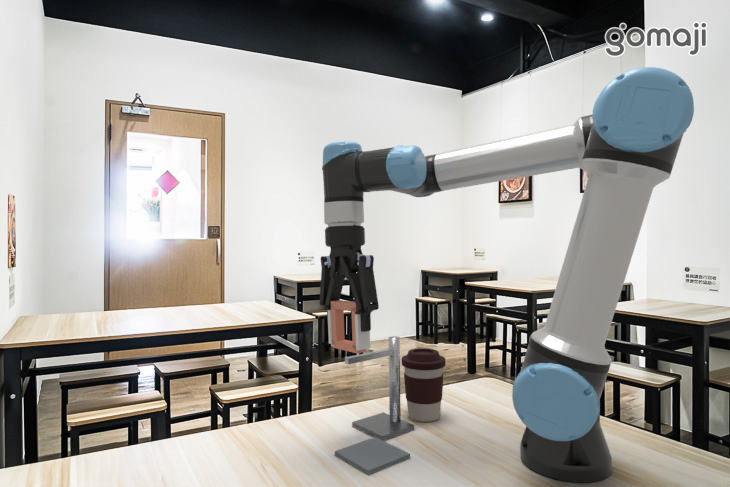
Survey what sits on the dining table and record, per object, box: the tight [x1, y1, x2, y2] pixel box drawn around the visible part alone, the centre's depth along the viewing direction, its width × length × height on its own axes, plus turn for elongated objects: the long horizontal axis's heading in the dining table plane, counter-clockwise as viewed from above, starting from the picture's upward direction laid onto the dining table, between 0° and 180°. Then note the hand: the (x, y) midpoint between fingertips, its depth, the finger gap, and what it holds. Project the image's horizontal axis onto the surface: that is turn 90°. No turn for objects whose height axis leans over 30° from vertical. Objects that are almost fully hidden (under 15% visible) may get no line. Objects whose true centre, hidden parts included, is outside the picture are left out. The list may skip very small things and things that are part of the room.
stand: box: [344, 335, 415, 442], centre depth 101 cm, size 10×14×19 cm
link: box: [331, 299, 367, 355], centre depth 90 cm, size 8×2×9 cm, turn 39°
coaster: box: [334, 437, 411, 476], centre depth 89 cm, size 10×10×1 cm
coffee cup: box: [401, 347, 446, 423], centre depth 109 cm, size 10×10×15 cm
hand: (348, 345), depth 90 cm, fingers closed on link, 8 cm apart
